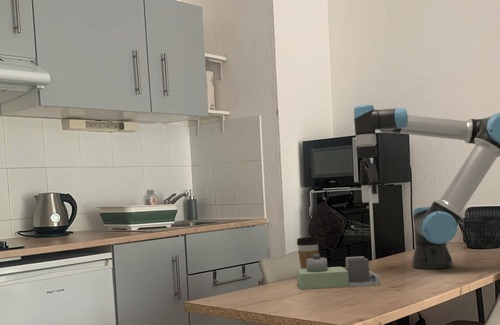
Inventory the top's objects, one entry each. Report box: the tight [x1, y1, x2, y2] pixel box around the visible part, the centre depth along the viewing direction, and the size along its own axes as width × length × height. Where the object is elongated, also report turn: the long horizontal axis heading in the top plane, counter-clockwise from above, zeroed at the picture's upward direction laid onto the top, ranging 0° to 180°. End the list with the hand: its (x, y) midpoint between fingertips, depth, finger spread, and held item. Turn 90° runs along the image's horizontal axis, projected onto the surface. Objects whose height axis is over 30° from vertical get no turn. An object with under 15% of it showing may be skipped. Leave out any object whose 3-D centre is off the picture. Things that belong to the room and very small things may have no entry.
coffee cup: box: [296, 236, 320, 269], centre depth 212 cm, size 8×8×15 cm
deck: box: [296, 253, 349, 291], centre depth 193 cm, size 16×12×11 cm
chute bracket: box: [349, 270, 381, 288], centre depth 193 cm, size 10×13×3 cm
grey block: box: [345, 255, 370, 283], centre depth 193 cm, size 7×4×9 cm, turn 91°
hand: (370, 202), depth 210 cm, fingers open, 13 cm apart
